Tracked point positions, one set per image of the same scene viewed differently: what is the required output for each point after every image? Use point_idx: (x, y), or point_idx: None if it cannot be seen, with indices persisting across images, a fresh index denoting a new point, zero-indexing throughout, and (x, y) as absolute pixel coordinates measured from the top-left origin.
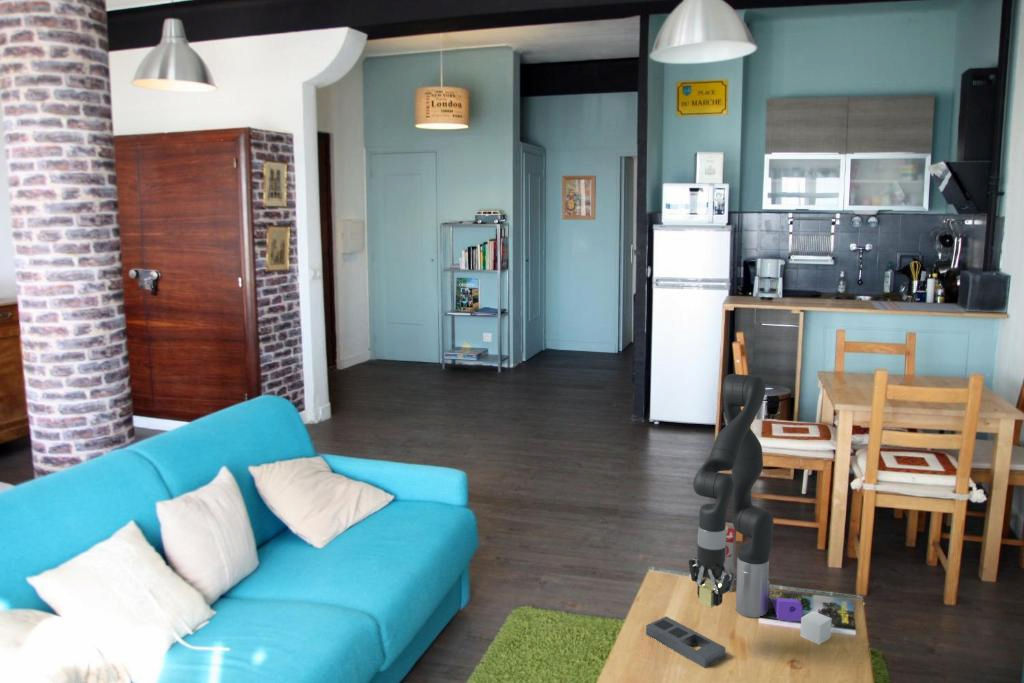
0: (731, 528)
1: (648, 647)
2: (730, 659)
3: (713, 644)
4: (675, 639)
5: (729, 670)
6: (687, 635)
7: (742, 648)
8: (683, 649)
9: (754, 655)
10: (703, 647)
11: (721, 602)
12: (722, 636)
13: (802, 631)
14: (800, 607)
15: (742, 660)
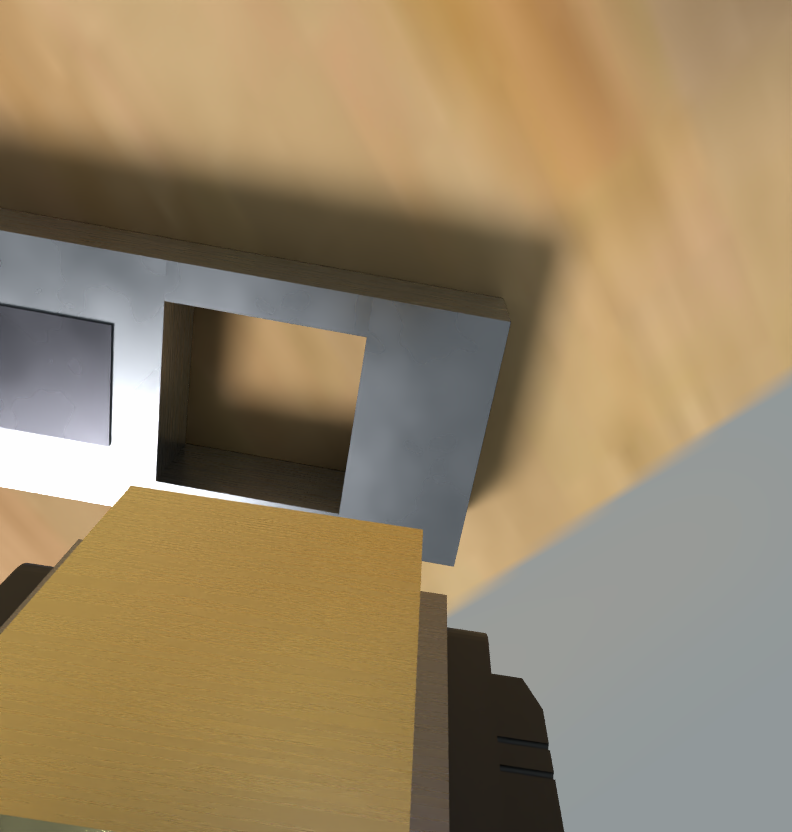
0: None
1: (5, 540)
2: (552, 294)
3: (397, 346)
4: (112, 484)
5: (614, 437)
6: (136, 364)
7: (559, 43)
8: None
9: (705, 82)
10: (358, 447)
11: (532, 716)
12: None
13: None
14: None
15: (643, 240)
